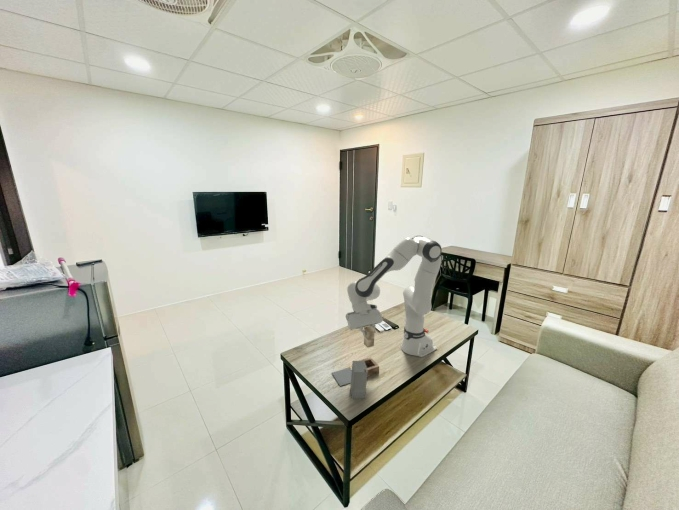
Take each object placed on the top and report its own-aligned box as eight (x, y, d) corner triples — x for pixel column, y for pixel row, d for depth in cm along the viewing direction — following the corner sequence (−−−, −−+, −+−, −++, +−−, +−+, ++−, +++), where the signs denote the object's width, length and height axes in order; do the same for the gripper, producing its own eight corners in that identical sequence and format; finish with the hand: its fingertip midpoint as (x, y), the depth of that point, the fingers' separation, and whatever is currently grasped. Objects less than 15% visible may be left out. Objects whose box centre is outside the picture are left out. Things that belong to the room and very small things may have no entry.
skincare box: (350, 387, 138) (350, 360, 134) (363, 386, 139) (364, 359, 135) (352, 399, 130) (352, 371, 126) (366, 398, 130) (368, 370, 126)
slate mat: (349, 368, 152) (349, 367, 152) (359, 380, 143) (359, 379, 142) (331, 373, 148) (331, 372, 148) (340, 386, 138) (340, 385, 138)
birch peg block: (370, 342, 149) (370, 325, 147) (373, 346, 146) (374, 329, 143) (363, 343, 148) (364, 327, 145) (367, 347, 144) (368, 331, 142)
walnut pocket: (370, 363, 157) (370, 357, 156) (379, 372, 149) (379, 366, 148) (356, 367, 153) (357, 361, 152) (364, 377, 145) (365, 370, 144)
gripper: (346, 311, 144) (354, 336, 138) (379, 304, 152) (388, 328, 146) (342, 315, 149) (350, 340, 143) (374, 308, 157) (383, 331, 151)
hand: (369, 334), depth 145 cm, fingers closed on birch peg block, 4 cm apart
